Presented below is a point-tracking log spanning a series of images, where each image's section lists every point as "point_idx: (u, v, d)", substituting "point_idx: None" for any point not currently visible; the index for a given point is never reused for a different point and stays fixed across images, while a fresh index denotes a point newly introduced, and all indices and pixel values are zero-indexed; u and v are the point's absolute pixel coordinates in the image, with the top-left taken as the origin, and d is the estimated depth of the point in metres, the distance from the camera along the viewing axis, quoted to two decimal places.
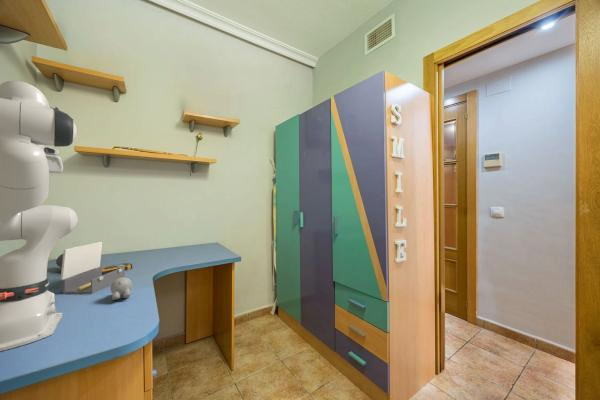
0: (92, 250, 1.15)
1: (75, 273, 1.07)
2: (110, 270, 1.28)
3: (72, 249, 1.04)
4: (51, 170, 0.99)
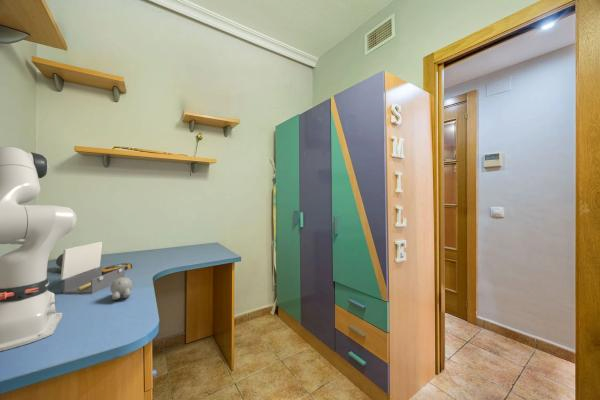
0: (92, 250, 1.15)
1: (75, 273, 1.07)
2: (112, 270, 1.29)
3: (72, 249, 1.04)
4: None
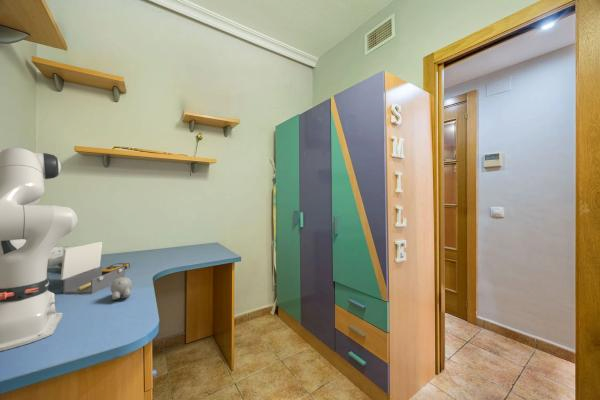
0: (92, 250, 1.15)
1: (75, 273, 1.07)
2: (116, 269, 1.30)
3: (72, 249, 1.04)
4: None
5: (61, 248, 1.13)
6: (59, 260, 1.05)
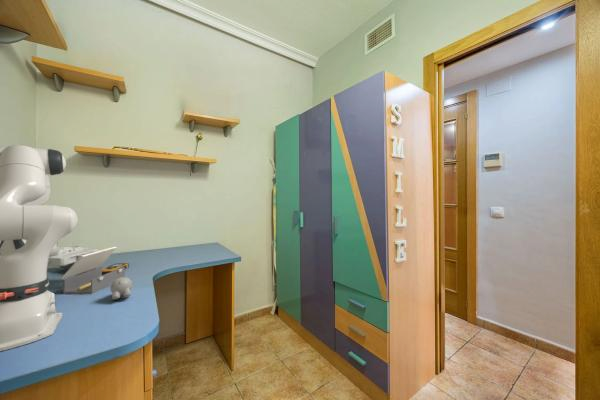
0: (103, 255, 1.16)
1: (76, 273, 1.07)
2: None
3: (88, 255, 1.04)
4: (92, 250, 1.17)
5: (71, 248, 1.13)
6: (70, 260, 1.05)
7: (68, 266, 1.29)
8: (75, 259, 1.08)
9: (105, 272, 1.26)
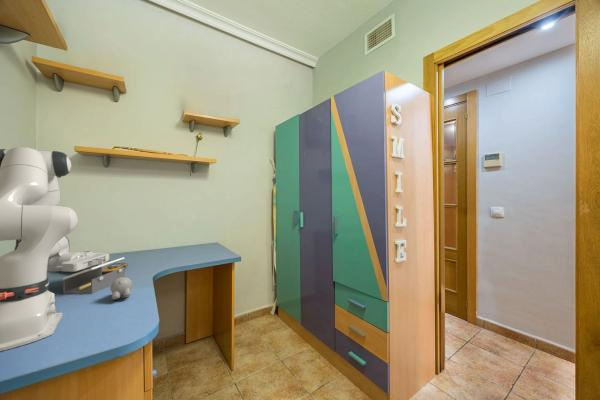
0: None
1: None
2: None
3: None
4: (103, 254, 1.17)
5: (83, 253, 1.14)
6: (83, 266, 1.06)
7: None
8: (87, 264, 1.08)
9: (107, 272, 1.26)
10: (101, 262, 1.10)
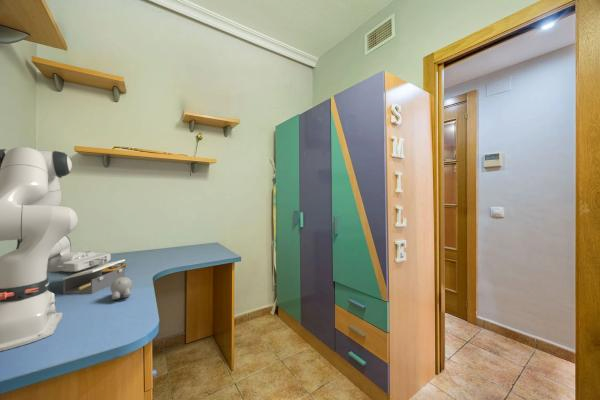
0: None
1: None
2: (119, 268, 1.32)
3: (97, 270, 1.05)
4: (105, 254, 1.17)
5: (84, 253, 1.14)
6: (84, 265, 1.06)
7: None
8: (88, 264, 1.08)
9: (109, 272, 1.26)
10: (102, 262, 1.10)
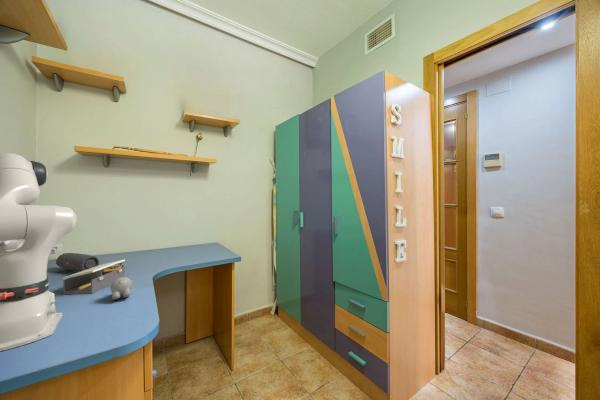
0: None
1: None
2: None
3: (97, 270, 1.05)
4: (55, 245, 1.16)
5: None
6: None
7: (68, 266, 1.29)
8: None
9: None
10: None
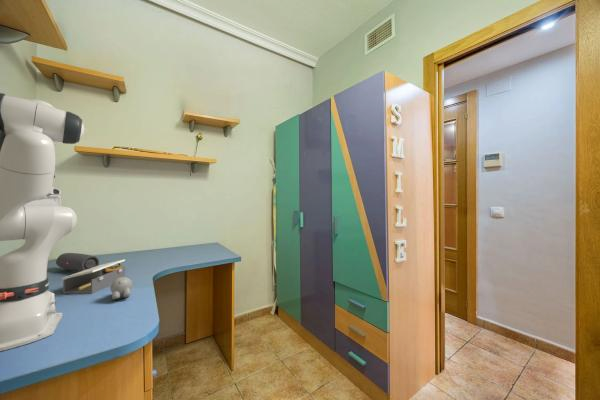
0: None
1: None
2: None
3: (97, 270, 1.05)
4: None
5: (49, 193, 1.06)
6: None
7: (68, 266, 1.29)
8: None
9: None
10: None
